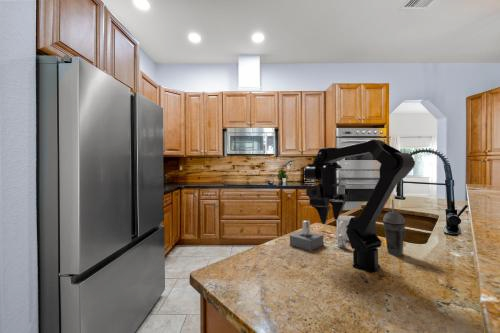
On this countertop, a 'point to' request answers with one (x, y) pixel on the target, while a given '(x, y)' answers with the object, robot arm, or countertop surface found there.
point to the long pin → (306, 228)
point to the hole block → (306, 240)
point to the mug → (343, 225)
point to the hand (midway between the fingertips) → (329, 221)
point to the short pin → (341, 241)
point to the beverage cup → (394, 231)
